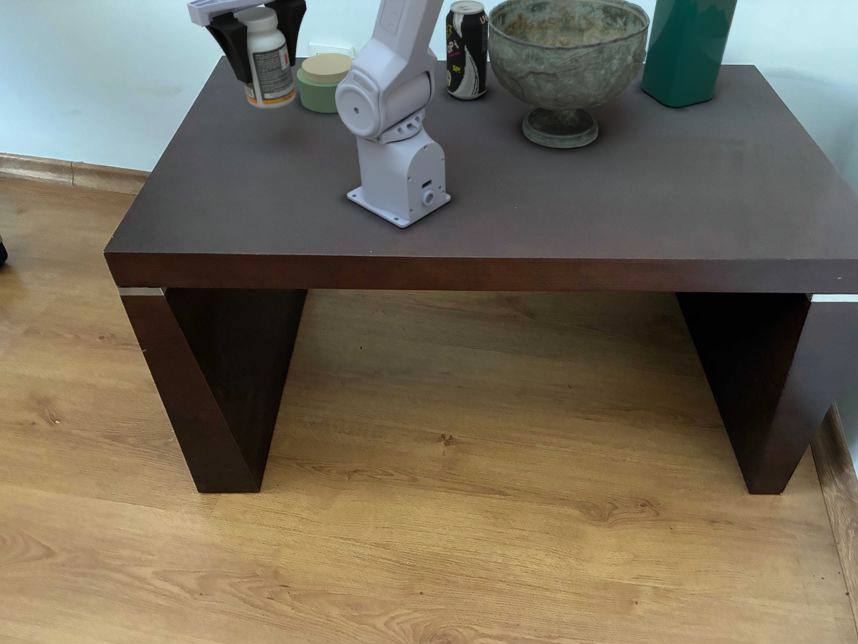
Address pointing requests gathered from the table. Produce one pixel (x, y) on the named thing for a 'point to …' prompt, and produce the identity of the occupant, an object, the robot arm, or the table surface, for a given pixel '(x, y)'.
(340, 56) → the squat jar
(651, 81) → the pitcher
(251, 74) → the robot arm
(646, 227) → the table surface
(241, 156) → the table surface
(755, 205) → the table surface
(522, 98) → the bowl
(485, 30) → the beverage can
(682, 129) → the table surface
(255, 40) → the pill bottle
